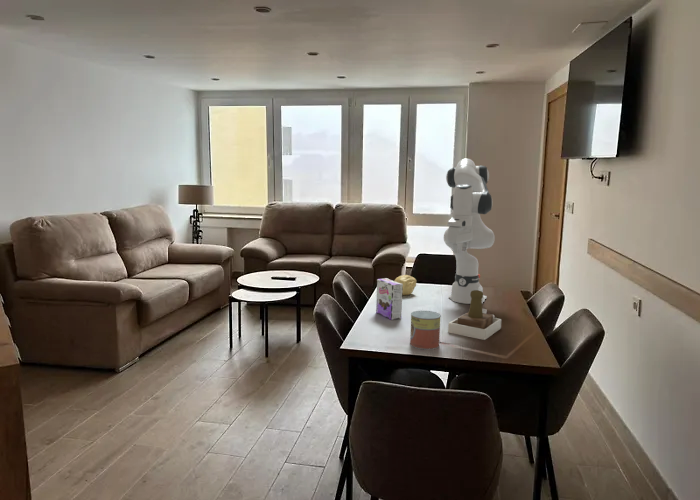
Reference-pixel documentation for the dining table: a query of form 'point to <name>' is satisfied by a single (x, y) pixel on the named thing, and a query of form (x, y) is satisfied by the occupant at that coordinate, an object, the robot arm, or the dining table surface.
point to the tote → (474, 329)
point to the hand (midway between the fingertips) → (460, 252)
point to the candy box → (389, 298)
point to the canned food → (425, 330)
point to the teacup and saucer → (486, 312)
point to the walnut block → (476, 321)
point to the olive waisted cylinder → (476, 304)
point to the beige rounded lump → (406, 284)
